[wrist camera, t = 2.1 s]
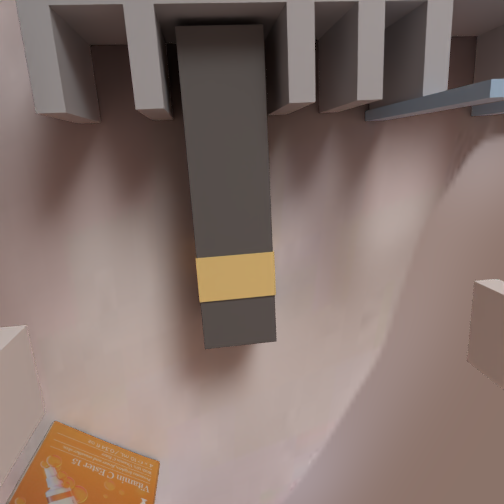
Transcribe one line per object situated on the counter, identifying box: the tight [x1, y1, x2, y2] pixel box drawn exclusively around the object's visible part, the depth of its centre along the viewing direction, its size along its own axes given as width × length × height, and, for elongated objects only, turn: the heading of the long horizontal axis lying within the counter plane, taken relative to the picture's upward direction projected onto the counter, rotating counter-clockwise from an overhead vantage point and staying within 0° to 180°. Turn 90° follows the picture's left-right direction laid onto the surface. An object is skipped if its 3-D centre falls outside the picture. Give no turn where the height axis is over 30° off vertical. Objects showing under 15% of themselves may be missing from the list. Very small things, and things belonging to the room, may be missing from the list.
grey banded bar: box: [175, 24, 276, 349], centre depth 22 cm, size 4×16×5 cm, turn 3°
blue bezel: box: [365, 79, 504, 121], centre depth 19 cm, size 8×1×11 cm, turn 93°
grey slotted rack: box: [16, 0, 504, 124], centre depth 20 cm, size 28×5×6 cm, turn 93°
